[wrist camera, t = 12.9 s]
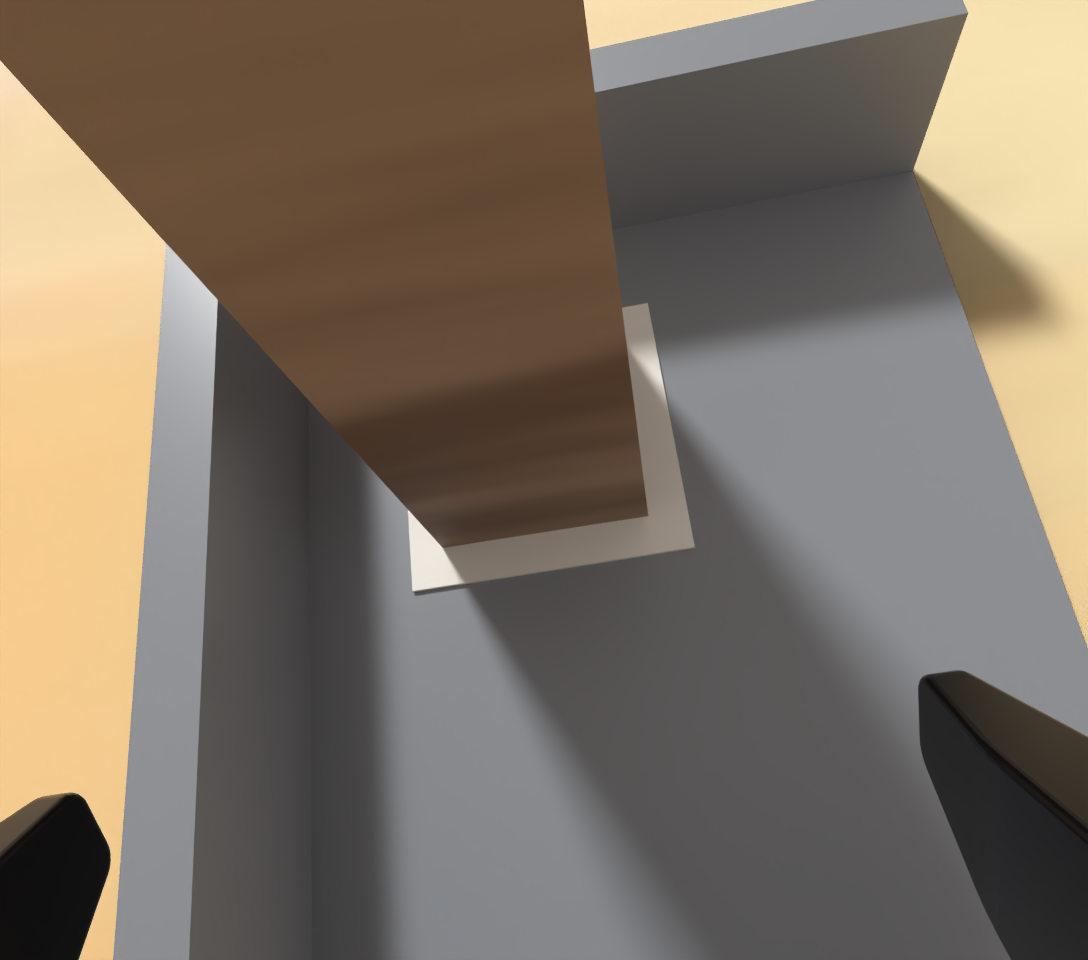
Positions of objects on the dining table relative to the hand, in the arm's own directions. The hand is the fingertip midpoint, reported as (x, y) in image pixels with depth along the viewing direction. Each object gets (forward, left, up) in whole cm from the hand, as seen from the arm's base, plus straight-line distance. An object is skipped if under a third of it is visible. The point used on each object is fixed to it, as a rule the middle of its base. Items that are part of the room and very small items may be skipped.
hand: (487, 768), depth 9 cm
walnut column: (+8, -1, -8) cm, 11 cm away
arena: (+4, -2, -9) cm, 10 cm away
